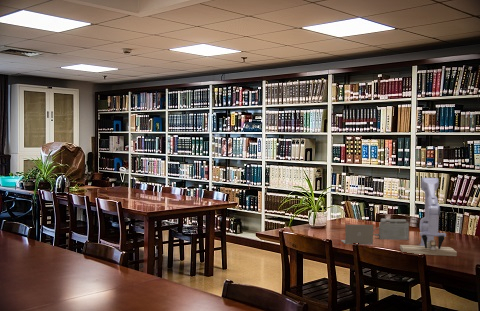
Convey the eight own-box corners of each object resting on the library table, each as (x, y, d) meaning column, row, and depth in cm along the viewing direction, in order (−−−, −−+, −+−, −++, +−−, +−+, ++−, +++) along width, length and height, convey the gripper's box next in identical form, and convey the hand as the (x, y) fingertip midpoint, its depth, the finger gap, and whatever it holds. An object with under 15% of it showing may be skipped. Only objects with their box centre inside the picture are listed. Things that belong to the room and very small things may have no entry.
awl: (429, 253, 305) (429, 239, 305) (435, 253, 305) (435, 240, 304) (429, 254, 302) (430, 240, 302) (436, 254, 301) (436, 241, 301)
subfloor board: (399, 249, 316) (400, 244, 315) (450, 251, 311) (450, 247, 311) (403, 253, 303) (403, 249, 303) (456, 256, 299) (456, 251, 298)
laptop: (367, 241, 340) (367, 221, 340) (372, 245, 328) (373, 225, 328) (340, 241, 340) (341, 221, 339) (345, 244, 327) (345, 224, 327)
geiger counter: (407, 218, 351) (371, 217, 350) (410, 219, 344) (374, 219, 343) (406, 238, 351) (370, 238, 350) (410, 240, 345) (373, 239, 344)
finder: (425, 245, 313) (425, 240, 313) (433, 246, 312) (434, 241, 312) (427, 247, 308) (427, 242, 308) (435, 248, 307) (436, 242, 307)
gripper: (422, 226, 300) (421, 249, 300) (447, 227, 298) (447, 250, 298) (419, 224, 307) (418, 246, 307) (444, 225, 305) (443, 247, 305)
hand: (432, 248), depth 303 cm, fingers open, 7 cm apart
